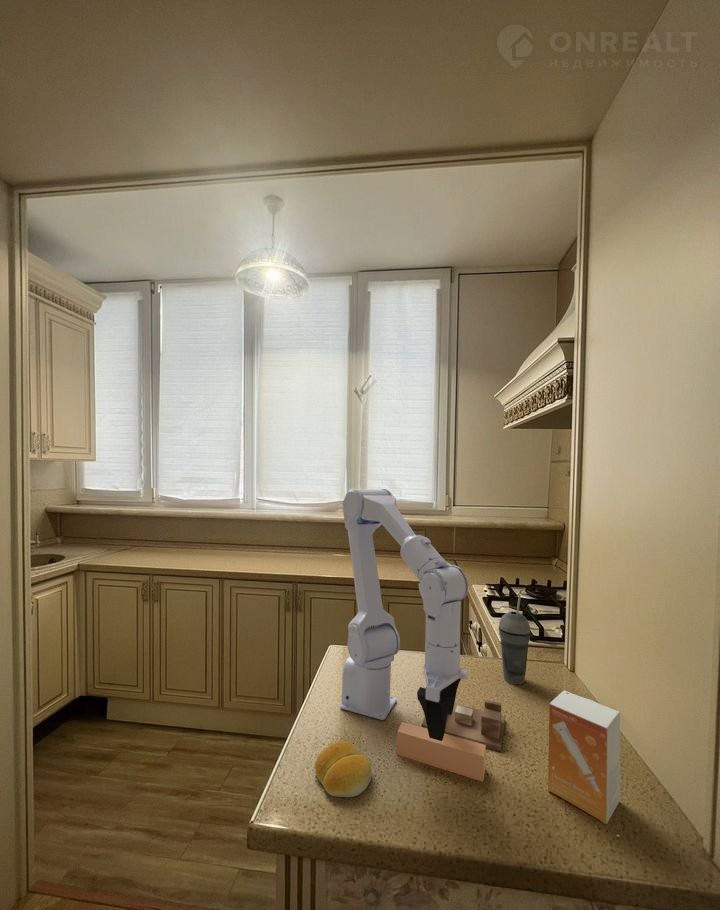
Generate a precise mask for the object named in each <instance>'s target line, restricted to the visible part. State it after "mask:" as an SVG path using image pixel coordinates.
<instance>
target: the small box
mask: <svg viewBox="0 0 720 910" xmlns="http://www.w3.org/2000/svg"><path fill="white" fill-rule="evenodd" d="M548 706H549V707H548V709H549V710H548V754H547V755H548V757H547V758H548V759H547V762H548V763H547V766H548V767H547V790H548V791H549V792H550V793H552V794H554V795H556V796H557V797H560V798H561V799H563V800H565V801H566V802H567V803H570V804H572V805H573V806H575V807H577V808H579V809H580V810H582V811H584V812H585V813H587V814H589V815H590V816H591V817H594V819H595V818H596V819H597V820H598V821H600V822H601V823H603V824H605V825H608V823H609V821H610V819H611V817H612V816H613V814H614V811H615V810H616V808H617V806H618V805H619V803H620V801H621V800H620V798H621V711H618V710H616V709H613V708H611V707H608V706H606V705H604V704H600V703H598V702H596V701H595V700H592V699H589V698H586V697H584V696H580V695H577V694H574V693H573V692H570V691H567V690H563V691H561V692H560V693H559V694H558V695H557V696H555V698H554V699H553V700H552V701H551V702H550V703H549V705H548Z"/></svg>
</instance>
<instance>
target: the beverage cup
mask: <svg viewBox="0 0 720 910" xmlns="http://www.w3.org/2000/svg"><path fill="white" fill-rule="evenodd" d="M521 597H522V595H521V594H520V593H519V594H518V599H517V606H516V611H513V610H512V611H508V612H506V613H504V614H503V615H502V616H501V618H500V619H499V625H498V627H497V628H498V633H499V637H500V648H501V649H500V650H501V660H502V663H501V664H502V672H503V673H502V674H503V679H504V681H505V682H506V683H508V682H509V684H512V685H515V684H522V683H525V679H526V673H527V662H528V661H527V660H528V651H529V642H530V640H531V635H532V630H531V626H530V625H531V624H530V623H529V621H528V619H527V618H526V616H524V615H523V613H520V606H521ZM522 685H523V684H522Z"/></svg>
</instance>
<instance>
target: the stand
mask: <svg viewBox="0 0 720 910" xmlns="http://www.w3.org/2000/svg"><path fill="white" fill-rule="evenodd" d="M505 717H506V716H505V715H502V703H500V702H496V701H493V700H487V699H484V708H483V709H482V710H481V709H478V708H474V707H469V706H466V705H462V704H458V703H454V708H453V712H452V714H451V715H449V714H448V716H447V722H446V728H445V734H448V735H452V736H455V737H459V738H462V739H466V740H469V741H473V742H476V743H480V744H484V745H486V749H490V750H493V751H497V752H502V747H503V746H502V745H503V736H504V729H505V728H504V727H505V720H506V719H505ZM422 720H423V721H422V722H421V726H420V727H423V728H427V724H426V719H425V717H424V718H423V719H422Z"/></svg>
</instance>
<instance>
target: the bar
mask: <svg viewBox="0 0 720 910" xmlns="http://www.w3.org/2000/svg"><path fill="white" fill-rule="evenodd" d="M396 733H397V734H396V735H397V737H396V738H397V741H396V756H400V757H403V758H406V759H410V760H413V761H416V762H419V763H422V764H426V765H429V766H432V767H435V768H437V769H441V770H445V771H448V772H451V773H455V774H457V775H461V776H462V777H463V776H464V777H466V778H470V779H474V780H476V781H479V782H482V783H483V782H484V779H485V775H486V774H485V773H486V758H487V757H486V753H487V752H486V749H487V748H486V745H484V744H480V743H476V742H473V741H469V740H466V739H462V738H459V737H455V736H452V735H448V734H444V737H443V740H442V741H439V740H436V739H432V738H430V737H429V734H428V729H427V728H423V727H421V726H419V725H415V724H411V723H409V722H406V721H402V722H401V724H400V726H399V728H398V730H397V731H396Z"/></svg>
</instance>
